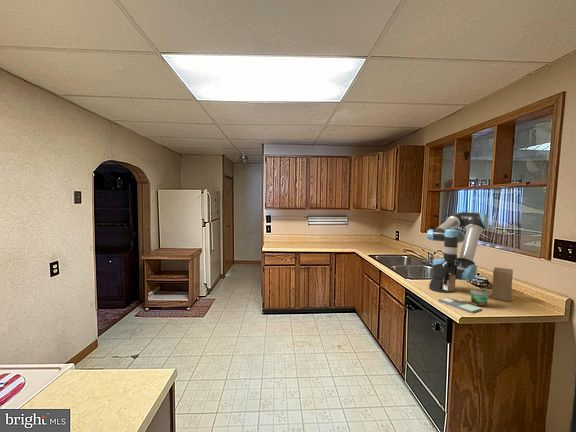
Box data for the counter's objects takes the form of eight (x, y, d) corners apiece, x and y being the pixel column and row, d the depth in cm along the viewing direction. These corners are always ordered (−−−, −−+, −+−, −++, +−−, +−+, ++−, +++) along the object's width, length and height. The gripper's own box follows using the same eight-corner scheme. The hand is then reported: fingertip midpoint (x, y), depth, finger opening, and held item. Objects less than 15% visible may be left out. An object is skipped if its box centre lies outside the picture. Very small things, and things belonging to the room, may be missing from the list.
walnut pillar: (442, 289, 180) (443, 273, 180) (447, 288, 182) (448, 273, 182) (450, 291, 176) (450, 275, 175) (454, 290, 178) (455, 274, 178)
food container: (478, 308, 169) (479, 292, 168) (469, 305, 175) (470, 289, 174) (493, 307, 172) (494, 291, 172) (484, 303, 178) (485, 288, 178)
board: (438, 301, 181) (438, 299, 181) (447, 299, 185) (447, 297, 185) (471, 313, 162) (471, 310, 162) (481, 310, 166) (481, 308, 166)
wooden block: (492, 295, 195) (494, 266, 193) (511, 298, 188) (512, 269, 187) (491, 298, 187) (493, 269, 186) (510, 302, 180) (512, 272, 179)
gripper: (447, 255, 171) (445, 292, 172) (464, 253, 179) (463, 289, 180) (435, 253, 177) (434, 289, 178) (453, 251, 185) (451, 285, 187)
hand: (448, 289), depth 179 cm, fingers closed on walnut pillar, 5 cm apart
